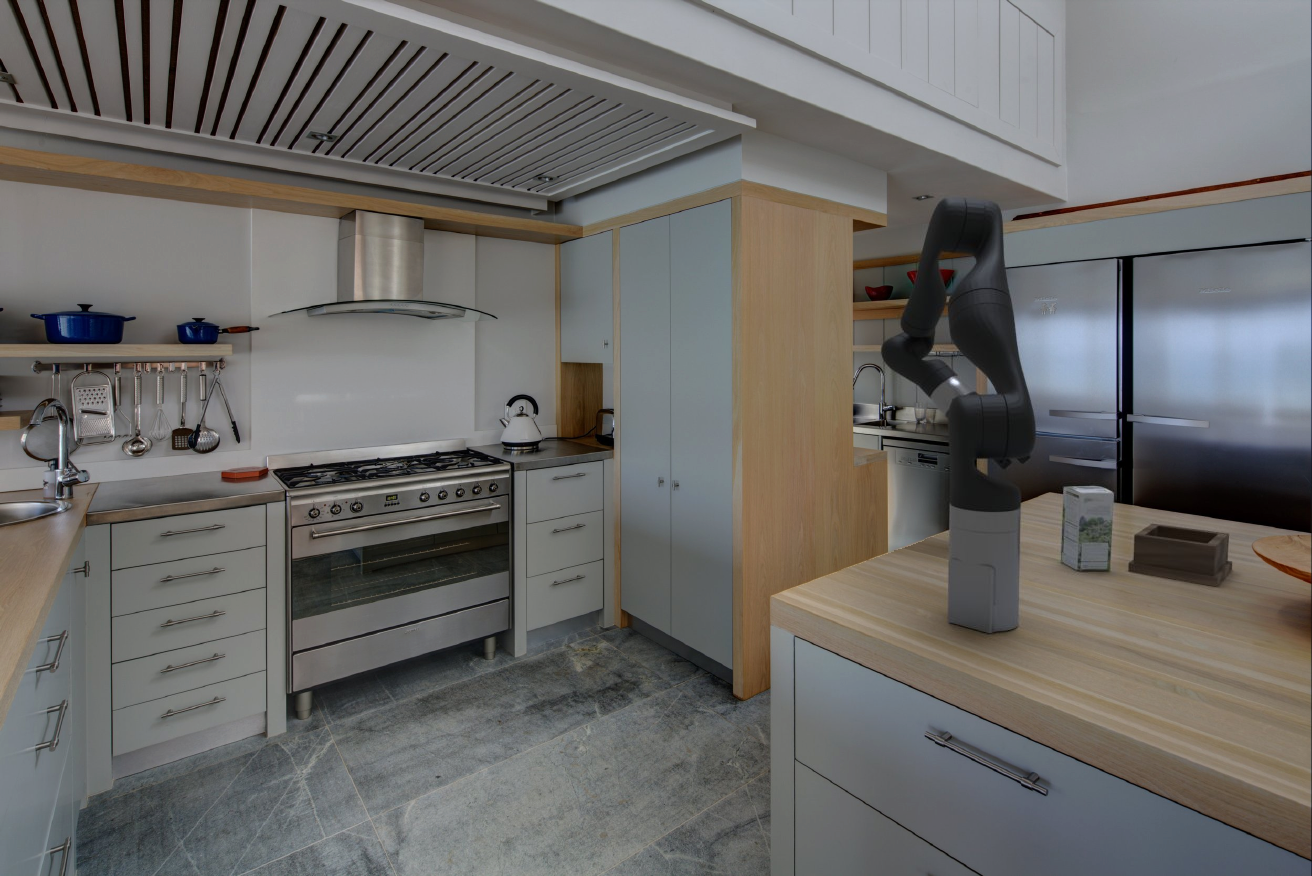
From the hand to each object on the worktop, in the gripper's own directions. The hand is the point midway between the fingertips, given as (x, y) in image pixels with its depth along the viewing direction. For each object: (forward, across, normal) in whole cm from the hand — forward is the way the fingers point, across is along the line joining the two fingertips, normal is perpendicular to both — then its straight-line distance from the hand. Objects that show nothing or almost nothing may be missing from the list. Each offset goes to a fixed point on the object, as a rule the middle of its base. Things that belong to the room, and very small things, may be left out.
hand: (1018, 463), depth 125 cm
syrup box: (+21, 0, +4) cm, 22 cm away
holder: (+29, +8, -4) cm, 31 cm away
